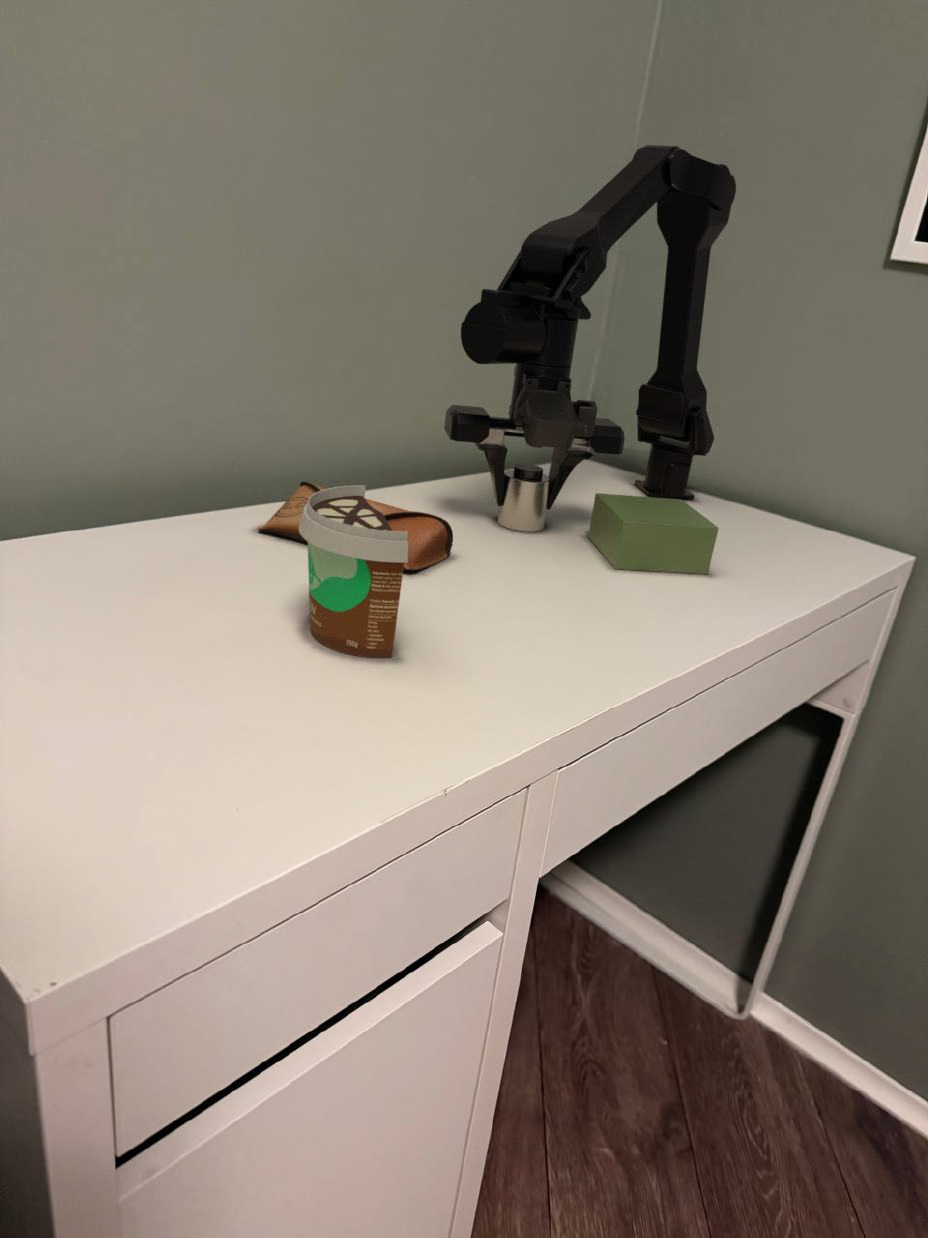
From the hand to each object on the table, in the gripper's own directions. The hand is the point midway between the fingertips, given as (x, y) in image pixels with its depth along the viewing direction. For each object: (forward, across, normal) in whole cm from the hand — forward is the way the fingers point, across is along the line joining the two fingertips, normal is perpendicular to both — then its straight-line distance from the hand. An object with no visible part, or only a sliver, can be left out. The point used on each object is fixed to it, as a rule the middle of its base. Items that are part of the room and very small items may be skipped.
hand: (522, 506), depth 99 cm
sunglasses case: (+2, -19, -10) cm, 22 cm away
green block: (+2, +12, -8) cm, 15 cm away
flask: (+2, 0, 0) cm, 2 cm away
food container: (+2, -21, -31) cm, 37 cm away
